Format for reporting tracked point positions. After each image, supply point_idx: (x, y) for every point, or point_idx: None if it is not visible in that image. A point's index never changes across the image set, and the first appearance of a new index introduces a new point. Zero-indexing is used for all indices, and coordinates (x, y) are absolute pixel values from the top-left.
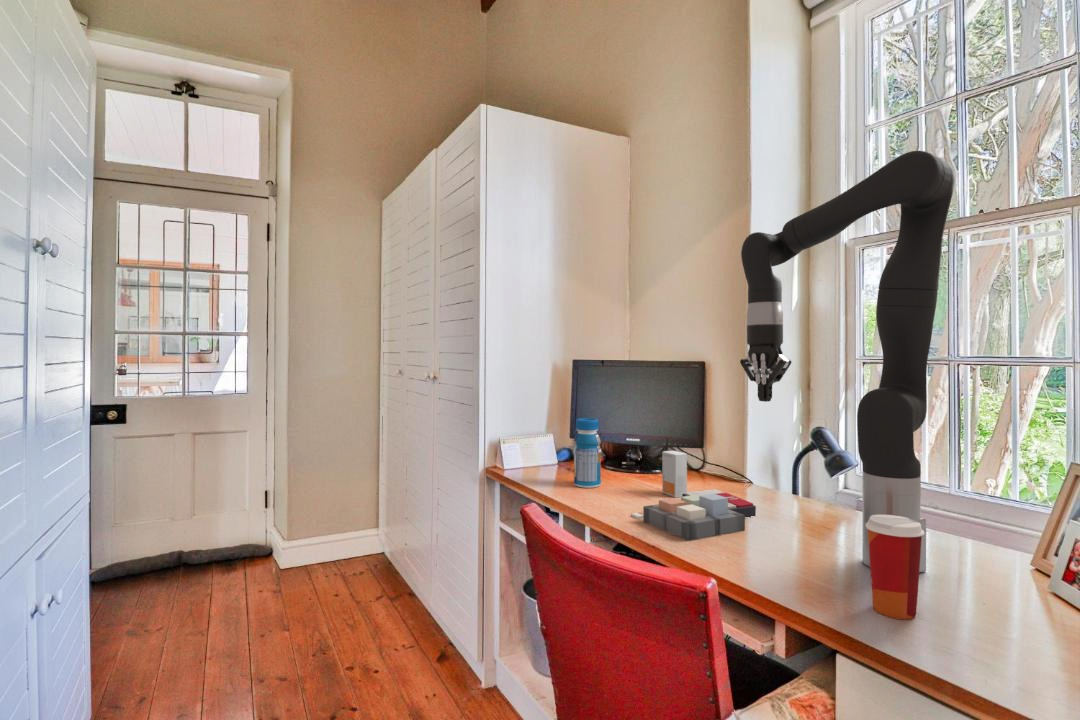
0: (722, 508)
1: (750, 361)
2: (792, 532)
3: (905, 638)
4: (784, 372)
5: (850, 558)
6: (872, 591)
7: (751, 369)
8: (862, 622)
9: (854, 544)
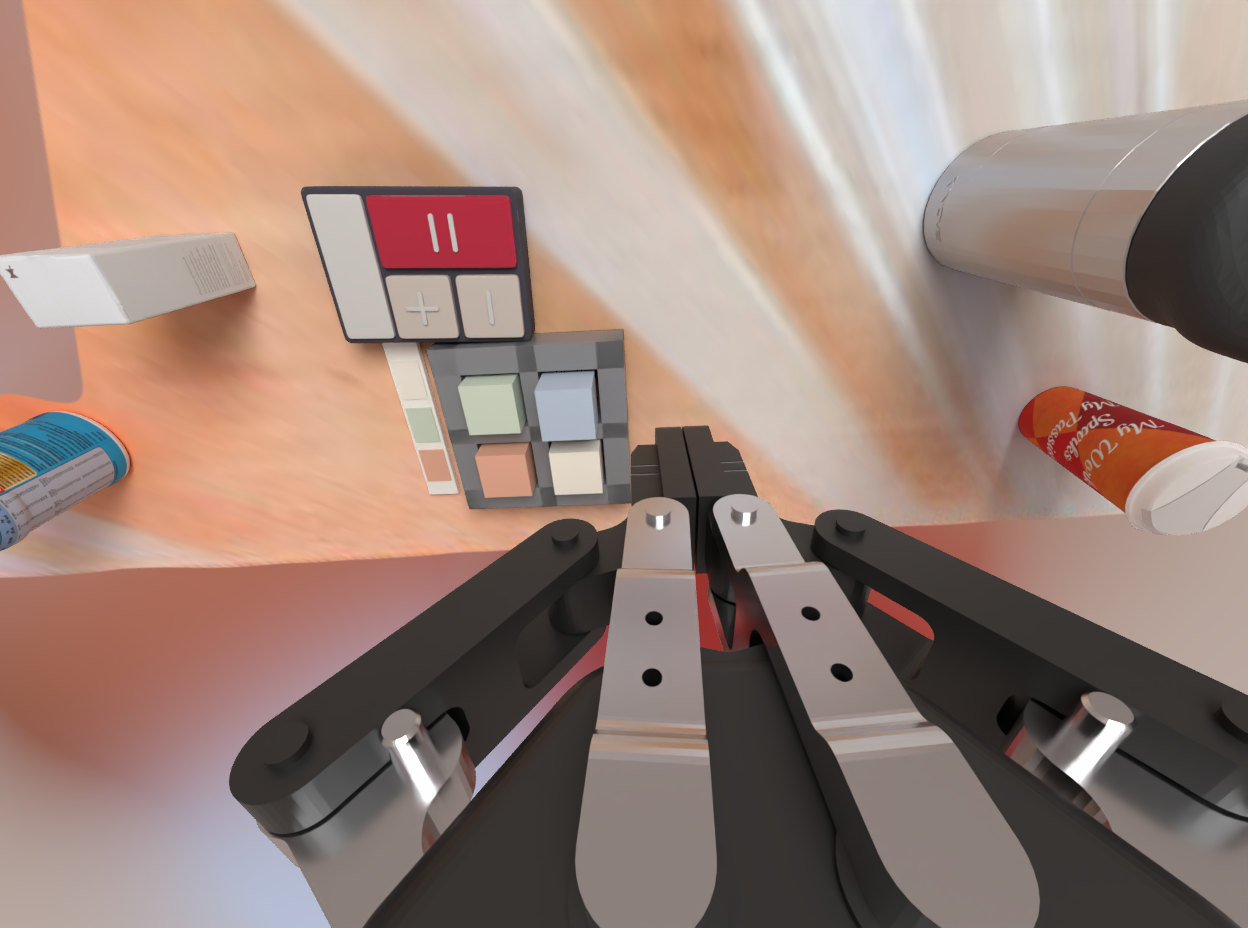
0: (594, 396)
1: (455, 813)
2: (691, 215)
3: None
4: (1008, 597)
5: (895, 251)
6: (1041, 449)
7: (515, 692)
8: (1020, 480)
9: (852, 130)
